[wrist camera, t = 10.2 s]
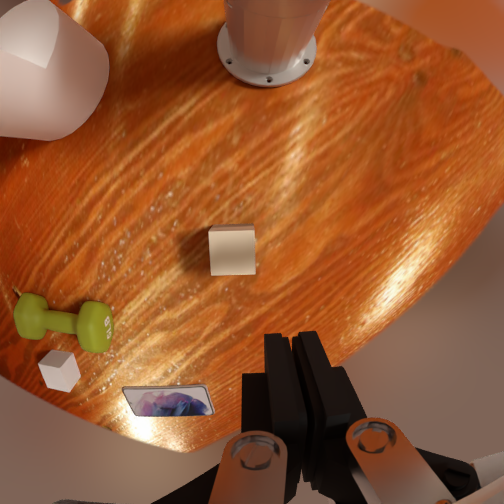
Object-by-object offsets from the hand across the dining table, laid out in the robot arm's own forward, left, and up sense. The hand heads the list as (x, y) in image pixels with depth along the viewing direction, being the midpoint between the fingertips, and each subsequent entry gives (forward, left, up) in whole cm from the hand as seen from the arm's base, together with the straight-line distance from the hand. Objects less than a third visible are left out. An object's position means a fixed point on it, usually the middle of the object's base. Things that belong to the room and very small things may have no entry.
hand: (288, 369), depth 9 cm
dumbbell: (+12, -29, -30) cm, 43 cm away
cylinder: (-23, -28, -29) cm, 47 cm away
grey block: (+22, -34, -29) cm, 50 cm away
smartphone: (+28, -16, -30) cm, 44 cm away
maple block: (+2, -3, -29) cm, 29 cm away
